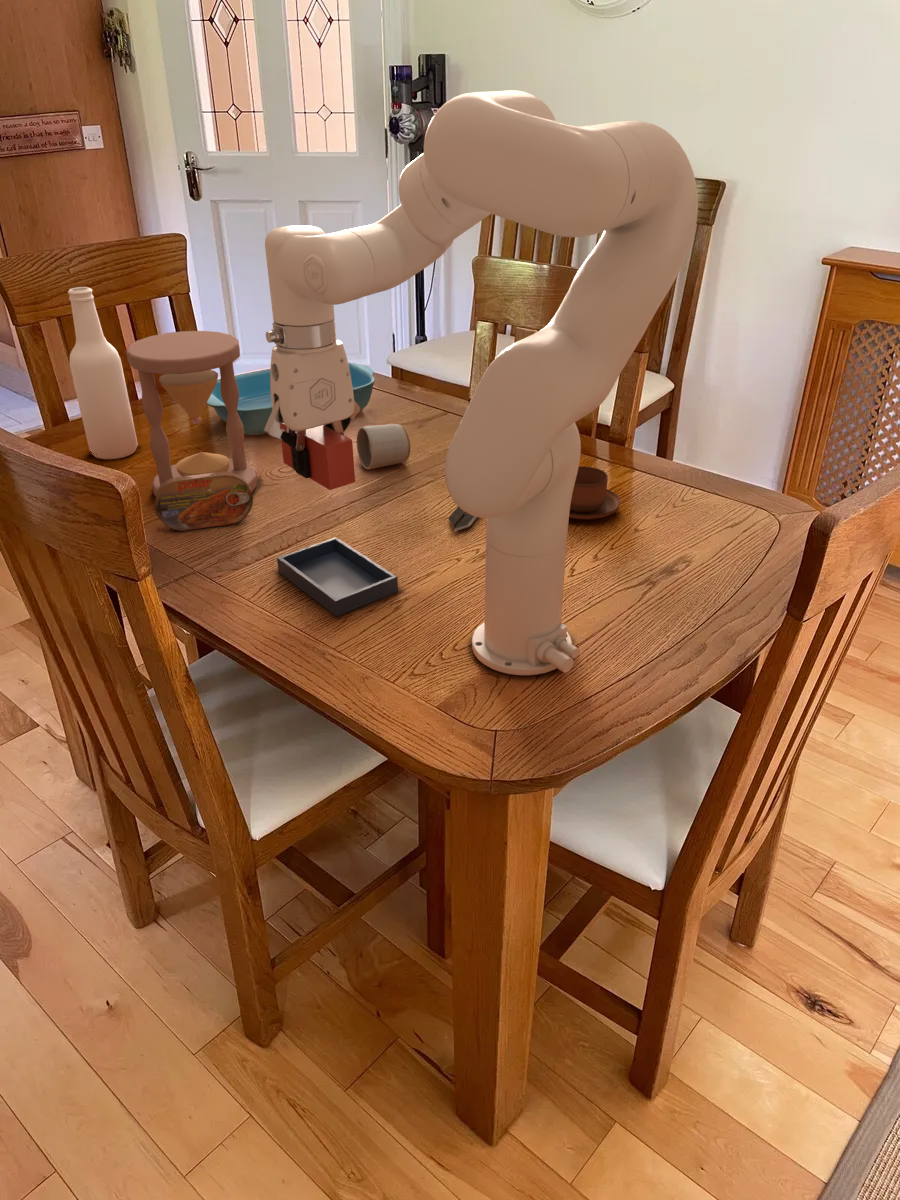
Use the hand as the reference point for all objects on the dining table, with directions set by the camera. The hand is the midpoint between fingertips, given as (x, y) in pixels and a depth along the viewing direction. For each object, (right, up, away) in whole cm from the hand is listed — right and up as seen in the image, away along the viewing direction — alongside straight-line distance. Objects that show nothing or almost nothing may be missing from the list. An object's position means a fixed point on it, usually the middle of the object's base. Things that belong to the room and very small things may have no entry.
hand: (318, 469), depth 120 cm
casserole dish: (-15, +21, +67) cm, 72 cm away
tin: (-21, -6, +23) cm, 32 cm away
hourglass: (-25, +2, +35) cm, 43 cm away
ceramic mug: (+5, +8, +44) cm, 45 cm away
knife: (+23, -1, +29) cm, 37 cm away
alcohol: (-46, +11, +50) cm, 69 cm away
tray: (+2, -15, +7) cm, 17 cm away
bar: (0, 0, 0) cm, 0 cm away
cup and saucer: (+40, -3, +26) cm, 48 cm away
